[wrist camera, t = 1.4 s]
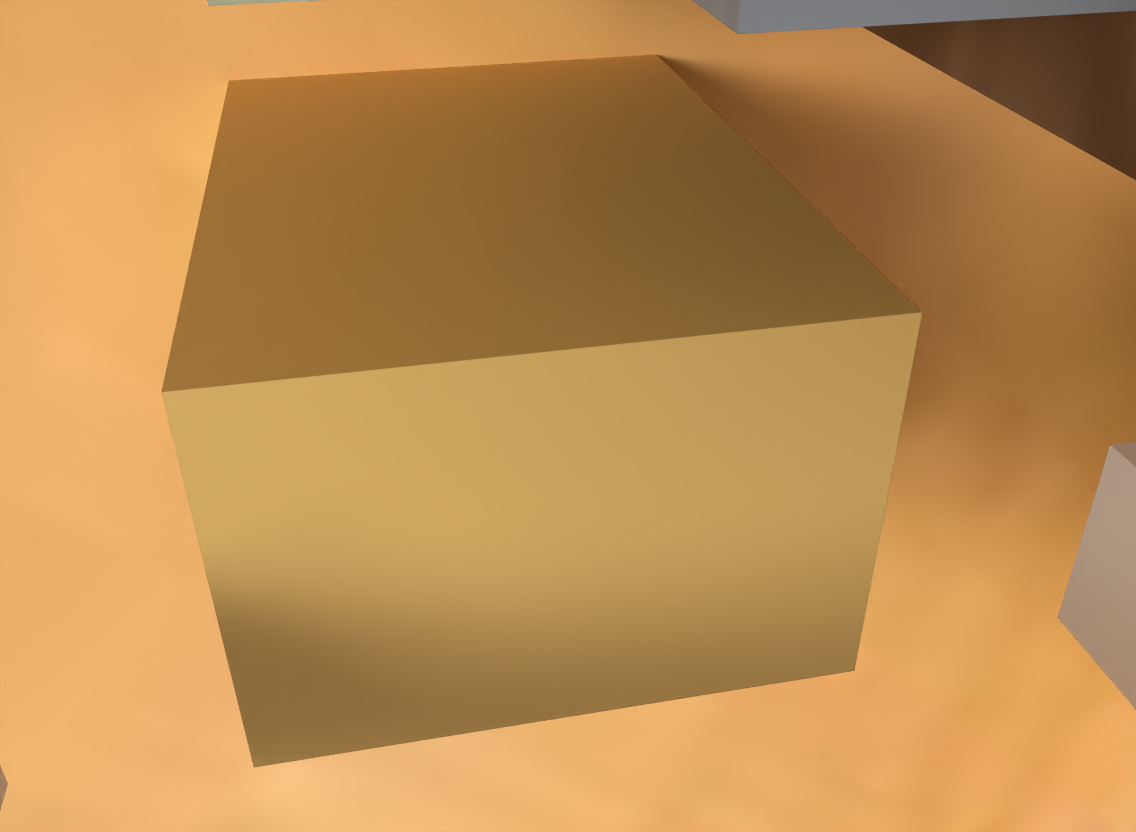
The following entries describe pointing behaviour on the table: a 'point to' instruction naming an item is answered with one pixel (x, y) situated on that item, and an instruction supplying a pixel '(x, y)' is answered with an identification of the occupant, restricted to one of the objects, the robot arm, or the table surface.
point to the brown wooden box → (990, 54)
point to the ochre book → (521, 404)
